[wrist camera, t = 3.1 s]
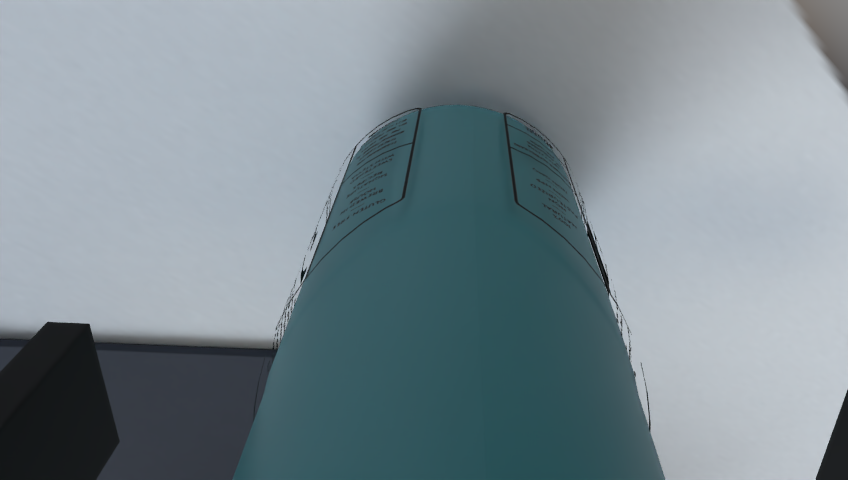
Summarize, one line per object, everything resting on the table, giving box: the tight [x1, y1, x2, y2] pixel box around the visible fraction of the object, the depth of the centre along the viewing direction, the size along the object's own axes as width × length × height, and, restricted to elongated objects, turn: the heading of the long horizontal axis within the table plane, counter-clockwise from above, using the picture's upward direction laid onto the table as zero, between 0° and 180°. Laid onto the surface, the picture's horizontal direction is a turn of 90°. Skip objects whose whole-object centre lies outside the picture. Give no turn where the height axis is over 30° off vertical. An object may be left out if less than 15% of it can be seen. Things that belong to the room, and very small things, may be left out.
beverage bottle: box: [232, 105, 665, 480], centre depth 12 cm, size 6×7×20 cm
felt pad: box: [0, 339, 278, 480], centre depth 26 cm, size 12×12×1 cm
